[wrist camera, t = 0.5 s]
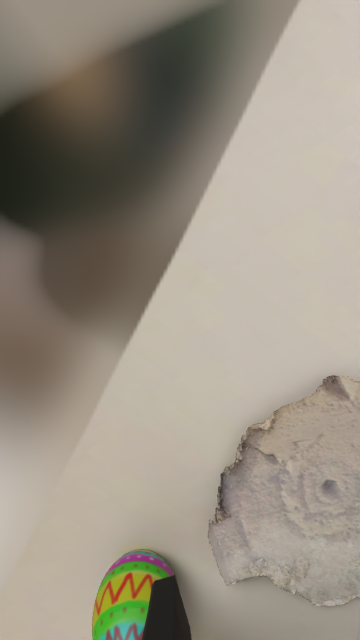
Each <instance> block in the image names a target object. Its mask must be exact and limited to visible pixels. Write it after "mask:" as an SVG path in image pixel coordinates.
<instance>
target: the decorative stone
mask: <svg viewBox="0 0 360 640" xmlns="http://www.w3.org/2000/svg"><path fill="white" fill-rule="evenodd" d="M246 432H247V434H246V435H243V436H242V438H241V442H242V444H239V447H238V448H237V450H238V451H237V453H236V461H235V462H234V464H232V465H231V466H229V467H226V468H225V470H224V472H223V473H222V474H221V485H220V486H219V487H218V488H219V489H218V495H217V497H218V508H216V514H215V515H214V516H215V519H214V520H213V519H210V520H209V531H208V538H209V540H210V542H209V543H210V544H211V546H212V547H213V549H212V550H213V552H214V556H215V558H216V562H217V566H218V568H219V571H220V574H221V576H222V577H223V579H224V582H225V584H226V585H229V584H231V583H233V584H235V583H236V582H237V581H240V580H242V581H243V579H246V578H249V577H253V576H265V575H266V576H267V577H270V578H271V580H272V581H273V582H274V583H275V584H276V586H278V587H279V588H281V589H284V590H286V591H287V592H290V593H293V594H295V593H300V595H302V596H303V597H305V598H306V599H307V600H309V601H311V603H312V604H313V605H317V606H325V605H328V606H330V607H331V606H334V605H336V604H337V605H343V604H344V603H347V602H348V601H350V600H352V599H353V598H355V597H356V598H357V597H360V381H355V380H353V379H350V378H348V377H344V376H342V377H340V376H329V377H327V379H323V386H319V387H318V388H317V391H316V393H314V394H312V395H311V396H309V397H306V398H303V399H302V400H300V401H298V402H296V403H294V404H293V403H292V404H288V405H286V406H283V407H281V408H280V409H278V410H276V411H275V412H274V413H273V414H272V415H271V419H269V418H268V419H267V420H265V421H264V423H263V424H260V423H258V424H254V425H252V427H249V428H248V429H247V431H246Z"/></svg>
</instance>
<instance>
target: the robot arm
mask: <svg viewBox="0 0 360 640" xmlns="http://www.w3.org/2000/svg"><path fill="white" fill-rule="evenodd" d="M142 640H191V633H190V626H189V623H188V619H187V616H186V612H185V609H184V605H183V602H182V598H181V595H180V591H179V588H178V585H177V581H176V578H175V575H173V576H170V577H166V578H162V579H159V580H155V581H154V582H153V584H152V588H151V595H150V601H149V607H148V612H147V617H146V622H145V627H144V631H143V636H142Z"/></svg>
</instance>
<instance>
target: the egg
mask: <svg viewBox="0 0 360 640" xmlns="http://www.w3.org/2000/svg"><path fill="white" fill-rule="evenodd" d="M173 575H174V573H173V571H172V570H171V568H170V566H169V565H168V564H167V562H166V561H165V560H164V559H163V558H162V557H161V556H159V555H158V554H156V553H154V552H152V551H149V550H135V551H131V552H129V553H127V554H125V555H123V556H122V557H121V558H119V559H118V560H117V561H116V562H115V563H114V564H113V565H112V566H111V568H110V569H109V570H108V572H107V573H106V575H105V577H104V578H103V580H102V583H101V585H100V587H99V590H98V593H97V596H96V600H95V605H94V611H93V620H92V637H93V640H142V636H143V631H144V627H145V622H146V617H147V612H148V607H149V601H150V595H151V588H152V584H153V582H154V581H155V580H159V579H162V578H166V577H170V576H173ZM177 585H178V584H177Z"/></svg>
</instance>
